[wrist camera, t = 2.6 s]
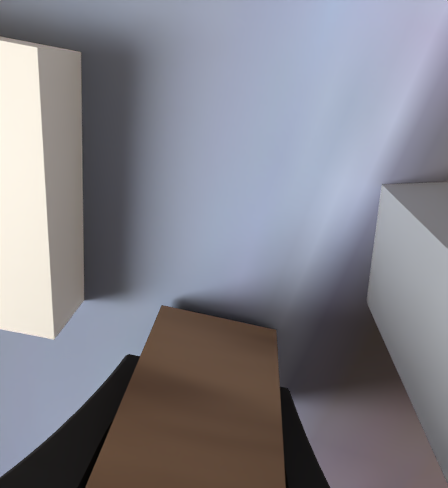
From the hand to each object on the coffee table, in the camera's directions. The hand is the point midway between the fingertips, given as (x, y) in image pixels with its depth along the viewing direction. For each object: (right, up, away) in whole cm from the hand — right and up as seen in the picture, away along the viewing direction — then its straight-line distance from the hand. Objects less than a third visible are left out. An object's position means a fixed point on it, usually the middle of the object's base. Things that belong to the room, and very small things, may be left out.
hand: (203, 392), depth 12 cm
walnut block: (0, +1, +1) cm, 2 cm away
